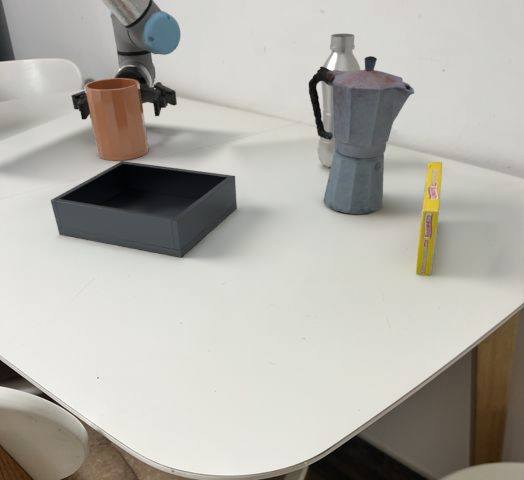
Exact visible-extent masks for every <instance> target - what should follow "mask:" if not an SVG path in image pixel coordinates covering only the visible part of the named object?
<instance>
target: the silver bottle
mask: <svg viewBox="0 0 524 480" xmlns="http://www.w3.org/2000/svg"><path fill="white" fill-rule="evenodd" d="M329 50H331V53H330V54H329V56H328V57H327V58H326V60H325V62H324V64H323V65H322V67H325V68H327V69H329V70H338V71H342V72H343V73H347V72H353V71H359V70H361V66H360V64H359V62H358V60H357V58H356V56H355V54H354V52H353V50H355V34H353V33H333V34H331V35H330V45H329ZM320 83H321V92H322V93H321V95H322V118H321V120H322V122H323V125H324V130H325V131H326V132H331V133H332V134H333V137H332V139H331V140H328V139H325V138H322V137H320V136H319V140H318V146H317V157H318V160H319V162H320V164H321V165H323V166H324V167H327V168H331V164H332V160H333V155H334V152H335V138H334V113H333V86H329V85H327V84H326V83H325V82H323V81H320Z"/></svg>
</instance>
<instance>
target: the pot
mask: <svg viewBox="0 0 524 480" xmlns="http://www.w3.org/2000/svg"><path fill="white" fill-rule="evenodd" d="M83 89H84V91H85V93H86V98H87V103H88V108H89V113H90V114H89V118H90V123H91V128H92V134H93V138H94V143H95V148H96V152H97V155H98V157H99V158H100V159H102V160H106V161H114V162H116V161H117V162H118V161H119V162H121V161H129V160H134V159H138V158H142V157H143V156H145V155H147V154H148V152H149V141H148V135H147V128H146V119H145V114H144V105H143V104H142V99H141V92H140V85H139V82H138V81H137V80H134V79H127V78H114V77H113V78H104V79H97V80H93V81H90V82H87V83H86V84H85V85H83Z"/></svg>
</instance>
